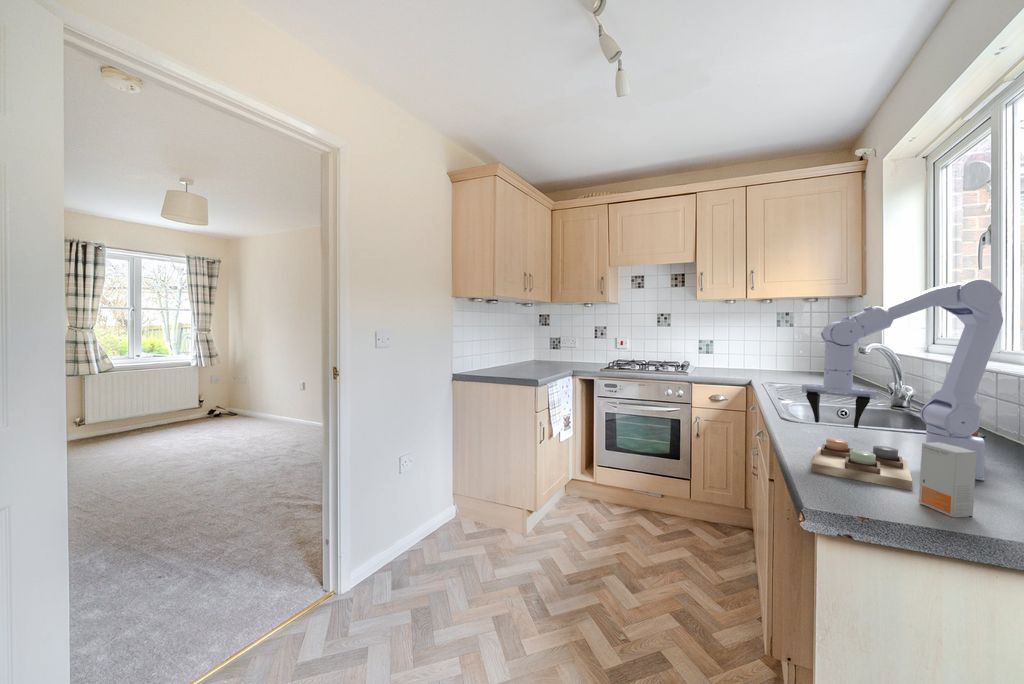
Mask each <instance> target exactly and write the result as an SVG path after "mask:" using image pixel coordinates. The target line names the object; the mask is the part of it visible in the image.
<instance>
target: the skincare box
mask: <svg viewBox="0 0 1024 684" xmlns="http://www.w3.org/2000/svg"><path fill="white" fill-rule="evenodd" d="M920 456H921V457H920V458H921V459H920V476H919V477H920V478H919V491H918V492H919V495H918V504H920V505H923V506H926V507H928V508H931V509H933V510H934V511H938V512H940V513H941V514H944V515H946V516H948V517H951V518H953V517H955V518H970V517H969V516H972V517H973V516H974V505H975V504H974V502H975V489H976V488H975V487H976V486H975V485H976V479H975V471H976V457H977V452H975V451H971V450H967V449H964V448H961V447H957V446H952V445H948V444H944V443H940V442H939V443H926V442H923V443H922V444H921V455H920Z"/></svg>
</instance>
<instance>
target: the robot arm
mask: <svg viewBox="0 0 1024 684" xmlns="http://www.w3.org/2000/svg"><path fill="white" fill-rule="evenodd" d="M1002 296H1003V292H1002V291H1001V290H1000V289H999V288H998V287H997V286H996V285H995V284H994V283H992V282H991V281H989V280H985V279H973V280H972V279H971V280H970V281H962V282H961V281H960V282H949V283H948V282H947V283H945V284H943V285H939V286H936V287H931V288H929V289H926V290H924V291H921V292H919V293H917V294H914V295H912V296H910V297H907V298H905V299H903V300H900V301H898V302H897V303H894V304H892V305H889V306H887V307H882V306H878V305H876V306H872V305H869V306H866V307H863V308H862V309H863V311H861V312H858V313H855V314H853V315H845V316H842V317H841V318H842V321H833V322H830V323H828V324H826V325H825V326H824V327H823V329H822V332H820V336H821V338H822V340H823V341H824V342H825V344H824V347H825V348H824V358H823V359H824V360H823V361H824V363H823V385H820V384H819V385H818V384H817V385H816V384H803V383H802V384H801V393H804V394H806V395H805V396H806V400H807V401H808V403H809V405H810V407H811V410H812V413H813V418H814V423H817V424H818V423H820V420H821V419H820V418H821V417H820V403H821V402H820V401H821V395H832V396H838V397H847V398H848V397H850V398H855V412H854V413H855V414H854V421H853V428H856V429H858V428H859V424H860V419H861V417H862V415H863V413H864V411H865V410H866V408H867V406H868V405H869V404H870V402H871V400H875V401H876V400H877V390H873V389H863V388H857V387H856V388H855V387H854V386H853V383H854V382H853V381H854V360H855V344H856V343H857V342H859V340H860V339H863V338H865V337H867V336H871V335H872V334H875V333H878V332H880V331H883V330H886V329H888V328H890V327H891V326H892V324H893V322H894V320H897V319H899V318H903V317H906V316H908V315H911V314H914V313H917V312H919V311H923V310H926V309H928V308H932V307H934V308H935V307H940V308H942V309H943V310H945V311H947V312H949V313H950V314H952V315H954V316H955V317H957V318H958V320H960V322H961V323H962V324H964V327H963V330H962V333H961V335H960V338H959V340H958V343H957V345H956V348H955V351H954V353H953V357H952V358H951V361H950V364H949V367H948V369H947V373H946V376H945V378H944V380H943V383H942V385H941V389H939V390H938V391H935V393H933V394H932V395H931V396H930V399H929V400H928V401H927V402H926V403H925V404H924V405H923V406H922V407H921V409H920V411H919V412H920V419H921V420H922V421H923V423H924V424H926V426H925V427H926V428H925V429H926V430H925V443H939V442H940V443H944V444H948V445H952V446H957V447H961V448H964V449H967V450H971V451H975V452H977V457H976V471H975V480H978V481H985V469H986V467H985V463H986V442H985V440H984V438H983V437H980V436H978V437H973V436H972V434H974V433H975V432H976V431H977V430H978V431H979V429H980V427H981V419H980V411H981V406H980V403H979V402H978V401H977V399H976V393H977V392H978V388H979V385H980V383H981V380H982V378H983V376H984V374H985V373H984V372H985V370H986V368H987V365H988V363H989V360H990V356H991V355H992V352H993V349H994V347H995V345H996V341H997V339H998V336H999V334H1000V331H1001V329H1002V326H1003V323H1004V317H1003V312H1002V308H1001V304H1000V303H1001V302H1000V301H1001V298H1002Z"/></svg>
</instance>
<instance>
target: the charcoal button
mask: <svg viewBox="0 0 1024 684" xmlns="http://www.w3.org/2000/svg"><path fill="white" fill-rule="evenodd" d="M872 452H873V454H875V455H876V456H877V457H880V458H886V459H898V456H899V449H897V448H894V447H891V446H885V445H873V446H872Z"/></svg>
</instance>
